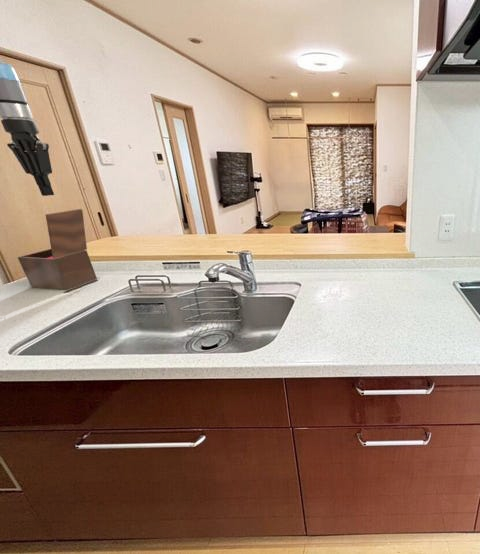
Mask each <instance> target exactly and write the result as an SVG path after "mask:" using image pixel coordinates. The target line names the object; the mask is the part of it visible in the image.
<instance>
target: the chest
mask: <svg viewBox="0 0 480 554" xmlns="http://www.w3.org/2000/svg"><path fill="white" fill-rule="evenodd" d="M51 256H52V250H51V248H48V249H45V250H40V251H36V252H32V253H29V254H25V255H21V256H18V257H17V260H18V262H19V264H20V266H21V268H22V271H23V272H24V275H25V278H26V279H27V281H28V283H29V285H30V287H31V288H33V289H48V290H60V291H61V290H62V291H64V293H71V292H73V291H77V290H78V289H80V288H83V287H85V286H89V285H90V284H93V283H96V282H98V281H99V280H98V279H97V278H98V277H97V275H96V271H95V268H94V266H93V263H92V262H91V259H90V256H89V253H88V249H86V250H83V251H79V252H76V253H72V254H69V255H65V256H62V257H59V258H55V259H52V258H47V257H51Z"/></svg>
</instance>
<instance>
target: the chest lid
mask: <svg viewBox="0 0 480 554" xmlns="http://www.w3.org/2000/svg"><path fill="white" fill-rule="evenodd" d="M83 211H84V210H83V209H81V208H78V209H72V210H64V211H59V212H52V213H46V214H45V220H46V226H47V231H48V237H49V244H50V249H51V250H52V256H53V258H58V257H62V256H65V255H69V254H72V253H76V252H79V251H83V250H88V247H87V238H86V237H87V236H86V229H85V221H84V212H83Z"/></svg>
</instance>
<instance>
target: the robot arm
mask: <svg viewBox="0 0 480 554" xmlns="http://www.w3.org/2000/svg"><path fill="white" fill-rule="evenodd" d="M33 116H34V115H33V113H32V111H31V109H30V106H29V103H28V100H27V98H26V95H25V93H24V90H23V87H22V84H21V80H20V79H19V77H18V75H17V72H16V70H15V68H14V67H13V66H12V65H10V64H8V63H6V62H2V61H0V118H1V120H0V122H1V125H2V127H3V129H4V132H6V133H7V134H10V137H11V142H10V143H6V145H7V147H8V148H9V149H10V151H11V152H12V153H13V155H14V156H15V158H16V159H17V161H18V163H19V164H20V166H21V168H22V169H23V171H24V172H25V174H27V175H31V176H32V177H33V179H34V181H35V184H36V185H37V187H38V189H39V191H40V194H41V196H42V197H47V196H55V192H54V190H53V188H52V182H51V181H50V178H49V175H51V174H53V168H52V163H51V158H50V152H49V147H50V145H49V143H47V142H42V141H41V140H40V138H39V137H38V135H39V133H40V130H39V128H38V125H37V123H36V122H35V121H33V120H34V117H33Z"/></svg>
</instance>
